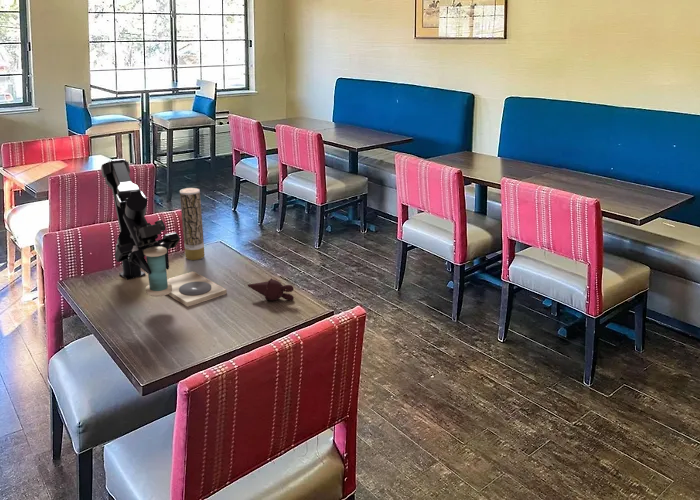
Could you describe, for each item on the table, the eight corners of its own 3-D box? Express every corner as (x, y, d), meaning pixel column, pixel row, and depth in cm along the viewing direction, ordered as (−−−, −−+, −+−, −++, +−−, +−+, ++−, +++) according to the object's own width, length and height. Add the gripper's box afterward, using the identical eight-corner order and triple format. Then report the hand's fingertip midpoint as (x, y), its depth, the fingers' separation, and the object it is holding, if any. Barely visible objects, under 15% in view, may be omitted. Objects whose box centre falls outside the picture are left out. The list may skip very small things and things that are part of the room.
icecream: (242, 283, 196) (289, 292, 194) (251, 269, 202) (297, 277, 200) (244, 301, 201) (290, 310, 198) (252, 286, 206) (297, 295, 204)
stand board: (155, 286, 209) (154, 281, 208) (193, 275, 218) (193, 270, 217) (187, 306, 196) (187, 301, 195) (226, 293, 205) (226, 288, 204)
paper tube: (200, 261, 230) (194, 193, 221) (182, 260, 231) (176, 192, 222) (207, 254, 236) (202, 188, 227) (190, 253, 237) (184, 187, 228)
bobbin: (141, 290, 193) (137, 249, 188) (164, 283, 198) (161, 243, 193) (153, 298, 188) (149, 257, 183) (176, 291, 193) (173, 251, 188)
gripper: (114, 219, 181) (136, 267, 178) (174, 206, 193) (196, 251, 189) (105, 238, 189) (126, 284, 186) (164, 224, 201) (184, 268, 198)
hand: (159, 271), depth 189 cm, fingers closed on bobbin, 5 cm apart
